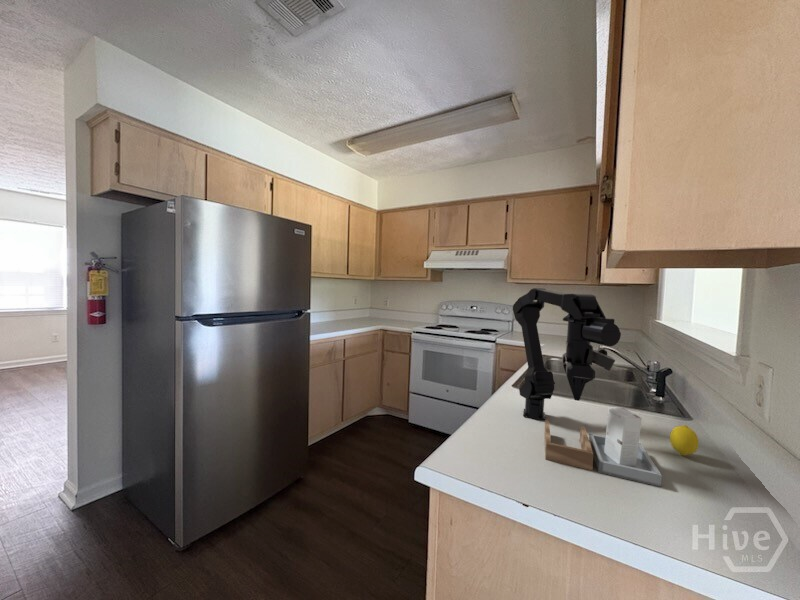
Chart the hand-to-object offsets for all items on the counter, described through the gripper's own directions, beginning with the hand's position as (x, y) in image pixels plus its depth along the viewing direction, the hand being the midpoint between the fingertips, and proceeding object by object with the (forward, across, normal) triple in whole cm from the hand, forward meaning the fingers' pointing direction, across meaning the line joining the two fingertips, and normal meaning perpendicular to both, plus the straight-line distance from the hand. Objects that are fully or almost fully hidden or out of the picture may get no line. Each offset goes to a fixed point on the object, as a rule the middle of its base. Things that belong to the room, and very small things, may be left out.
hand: (575, 394), depth 88 cm
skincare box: (+13, -7, -10) cm, 17 cm away
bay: (+13, -6, +2) cm, 14 cm away
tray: (+13, -7, -10) cm, 18 cm away
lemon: (+13, +5, -26) cm, 30 cm away
